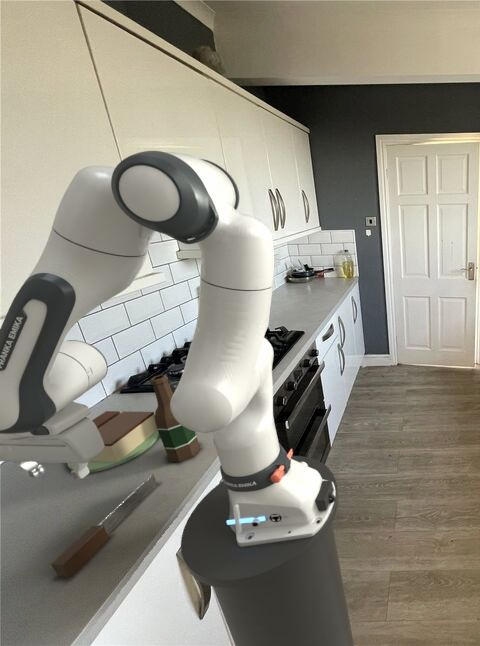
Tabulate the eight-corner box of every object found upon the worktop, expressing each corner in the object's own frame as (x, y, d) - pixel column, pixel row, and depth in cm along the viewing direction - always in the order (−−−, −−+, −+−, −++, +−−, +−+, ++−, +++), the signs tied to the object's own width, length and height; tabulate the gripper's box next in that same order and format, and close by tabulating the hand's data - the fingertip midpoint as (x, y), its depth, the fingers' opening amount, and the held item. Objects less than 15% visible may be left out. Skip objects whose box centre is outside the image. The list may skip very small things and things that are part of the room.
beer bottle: (204, 440, 101) (181, 367, 92) (196, 459, 94) (170, 381, 85) (173, 447, 98) (146, 372, 90) (163, 466, 92) (132, 387, 83)
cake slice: (126, 427, 106) (119, 411, 104) (80, 461, 93) (71, 443, 90) (113, 427, 106) (106, 411, 104) (65, 461, 93) (56, 443, 91)
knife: (161, 484, 86) (157, 473, 84) (70, 577, 65) (62, 564, 64) (152, 484, 86) (147, 473, 85) (58, 577, 65) (50, 564, 64)
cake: (175, 424, 108) (169, 405, 105) (118, 474, 89) (108, 452, 87) (115, 423, 109) (107, 405, 107) (46, 472, 91) (34, 450, 88)
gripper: (-49, 426, 60) (-10, 486, 65) (60, 427, 59) (92, 489, 64) (-4, 405, 66) (29, 462, 71) (96, 406, 64) (122, 464, 69)
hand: (59, 475), depth 67 cm, fingers open, 8 cm apart
